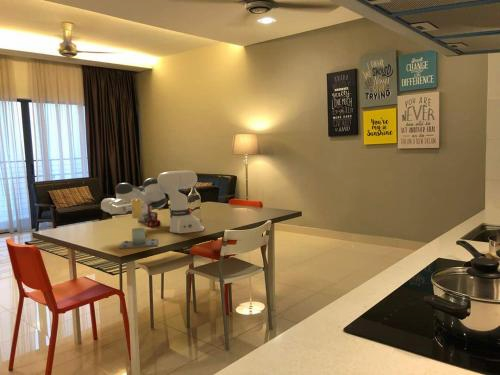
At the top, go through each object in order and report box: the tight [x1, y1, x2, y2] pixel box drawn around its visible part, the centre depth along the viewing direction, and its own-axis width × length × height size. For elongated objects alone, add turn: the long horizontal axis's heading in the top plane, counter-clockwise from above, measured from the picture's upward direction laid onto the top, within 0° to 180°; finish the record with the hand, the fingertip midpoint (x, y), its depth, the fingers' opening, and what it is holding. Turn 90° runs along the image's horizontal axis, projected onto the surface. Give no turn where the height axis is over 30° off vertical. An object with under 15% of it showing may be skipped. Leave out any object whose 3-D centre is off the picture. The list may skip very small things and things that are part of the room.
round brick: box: [131, 198, 142, 219], centre depth 230 cm, size 6×6×11 cm
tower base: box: [119, 227, 159, 250], centre depth 231 cm, size 20×14×9 cm
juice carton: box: [136, 185, 153, 223], centre depth 303 cm, size 9×10×27 cm
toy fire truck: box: [145, 211, 162, 228], centre depth 283 cm, size 7×12×10 cm, turn 40°
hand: (137, 207), depth 229 cm, fingers closed on round brick, 5 cm apart
